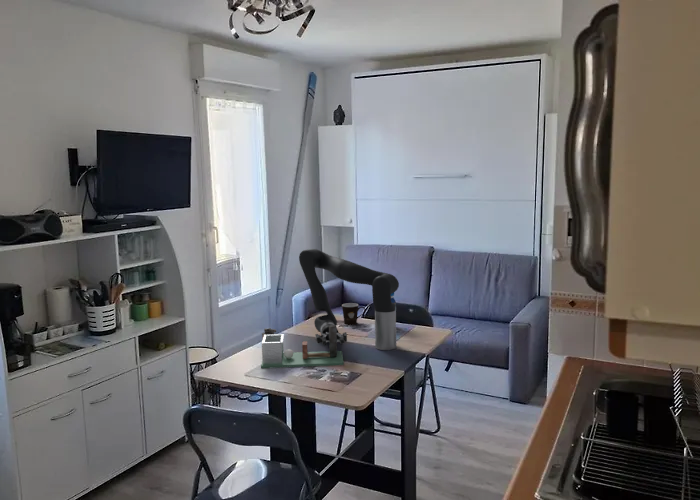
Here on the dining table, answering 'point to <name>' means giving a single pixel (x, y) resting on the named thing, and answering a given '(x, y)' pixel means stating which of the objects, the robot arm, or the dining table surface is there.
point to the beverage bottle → (394, 303)
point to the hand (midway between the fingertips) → (333, 342)
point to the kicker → (331, 345)
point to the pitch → (307, 361)
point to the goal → (272, 349)
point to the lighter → (269, 332)
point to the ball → (288, 354)
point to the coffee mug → (351, 313)
